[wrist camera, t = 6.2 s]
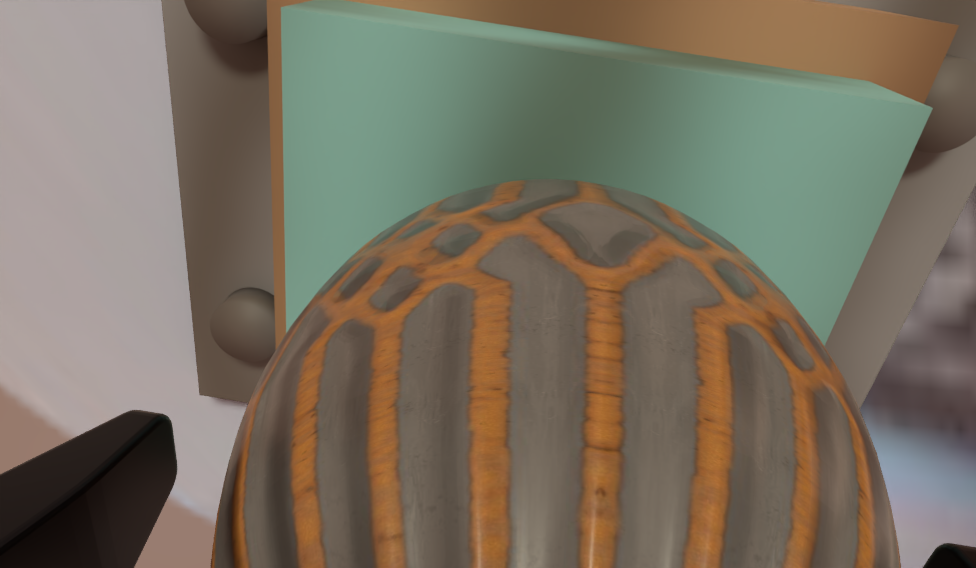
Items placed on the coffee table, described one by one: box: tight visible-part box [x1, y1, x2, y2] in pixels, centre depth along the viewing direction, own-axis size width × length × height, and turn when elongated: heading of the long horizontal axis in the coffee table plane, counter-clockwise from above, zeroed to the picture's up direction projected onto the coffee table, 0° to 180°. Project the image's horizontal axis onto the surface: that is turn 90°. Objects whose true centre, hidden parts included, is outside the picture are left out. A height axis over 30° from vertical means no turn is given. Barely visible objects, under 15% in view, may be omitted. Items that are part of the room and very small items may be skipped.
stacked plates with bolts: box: [161, 0, 976, 409], centre depth 14 cm, size 18×14×6 cm
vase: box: [211, 179, 901, 568], centre depth 7 cm, size 7×7×9 cm
